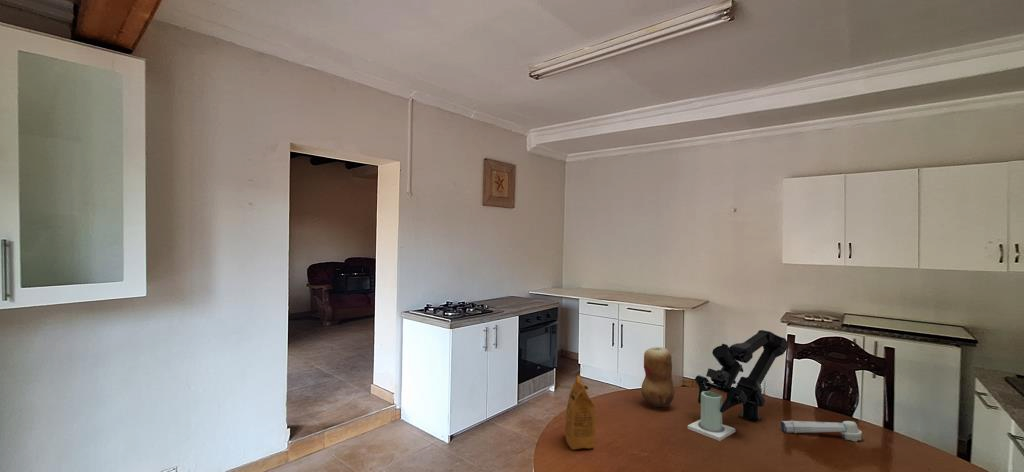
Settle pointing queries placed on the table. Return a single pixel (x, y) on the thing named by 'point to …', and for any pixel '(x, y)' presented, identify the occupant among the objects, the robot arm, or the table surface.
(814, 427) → the toothbrush head
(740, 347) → the robot arm
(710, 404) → the sleeve
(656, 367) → the butternut squash
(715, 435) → the post board
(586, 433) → the coffee package
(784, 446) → the table surface
